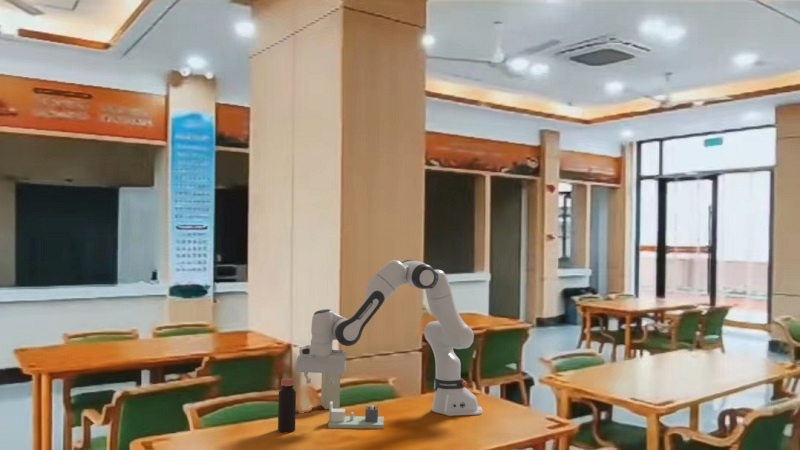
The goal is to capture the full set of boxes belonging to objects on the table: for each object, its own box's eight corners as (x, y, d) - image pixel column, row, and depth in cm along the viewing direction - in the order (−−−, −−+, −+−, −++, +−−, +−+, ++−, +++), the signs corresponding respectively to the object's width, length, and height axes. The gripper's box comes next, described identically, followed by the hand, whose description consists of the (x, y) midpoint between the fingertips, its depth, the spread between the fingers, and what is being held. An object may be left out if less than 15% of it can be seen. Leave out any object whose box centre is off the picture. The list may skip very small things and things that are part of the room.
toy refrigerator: (341, 408, 295) (342, 360, 296) (325, 409, 293) (326, 361, 293) (336, 403, 303) (337, 357, 303) (320, 405, 300) (321, 358, 300)
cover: (345, 418, 273) (345, 401, 273) (344, 421, 268) (344, 404, 268) (330, 418, 273) (330, 401, 273) (329, 421, 268) (329, 404, 268)
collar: (377, 418, 273) (378, 406, 273) (377, 422, 268) (377, 409, 268) (365, 418, 273) (365, 406, 273) (365, 422, 268) (365, 409, 268)
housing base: (383, 420, 277) (384, 402, 277) (383, 428, 265) (383, 409, 265) (331, 419, 277) (331, 401, 277) (328, 427, 265) (328, 409, 265)
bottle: (276, 428, 262) (277, 378, 263) (293, 427, 265) (294, 377, 265) (279, 433, 256) (280, 381, 256) (296, 432, 259) (297, 380, 259)
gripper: (347, 349, 274) (346, 382, 274) (297, 347, 274) (296, 381, 273) (346, 351, 268) (345, 386, 267) (295, 349, 267) (294, 384, 267)
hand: (320, 383), depth 270 cm, fingers open, 8 cm apart
